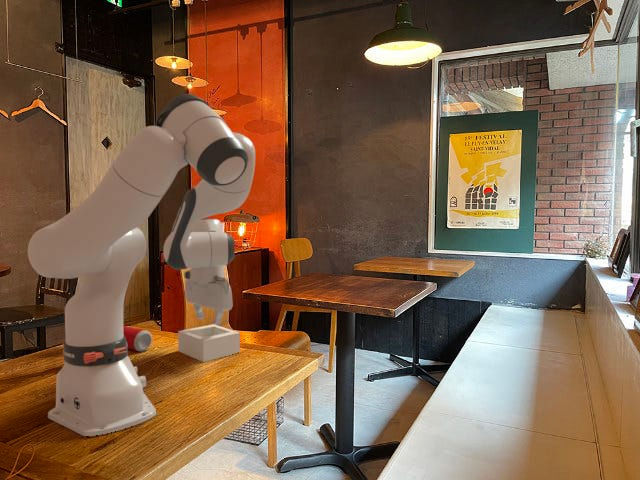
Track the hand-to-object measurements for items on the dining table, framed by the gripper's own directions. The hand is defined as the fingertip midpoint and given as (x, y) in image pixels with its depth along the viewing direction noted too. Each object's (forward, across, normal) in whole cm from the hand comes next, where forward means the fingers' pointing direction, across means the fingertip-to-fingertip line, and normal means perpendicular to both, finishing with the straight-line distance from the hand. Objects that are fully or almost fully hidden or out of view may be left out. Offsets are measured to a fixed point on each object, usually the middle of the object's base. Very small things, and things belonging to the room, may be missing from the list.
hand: (208, 321), depth 137 cm
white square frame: (+9, 0, 0) cm, 9 cm away
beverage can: (+6, +13, +13) cm, 20 cm away
